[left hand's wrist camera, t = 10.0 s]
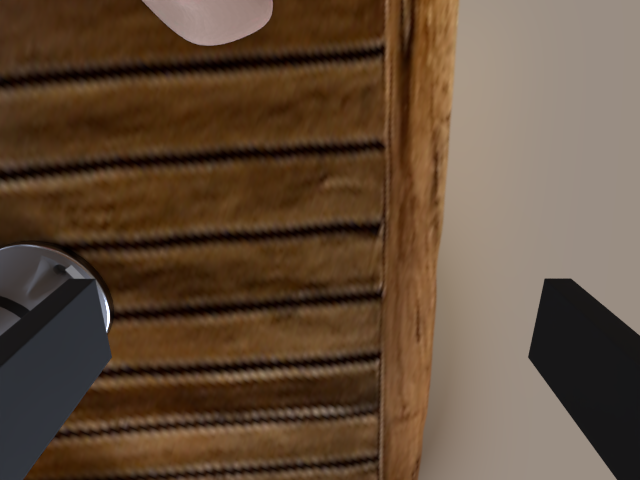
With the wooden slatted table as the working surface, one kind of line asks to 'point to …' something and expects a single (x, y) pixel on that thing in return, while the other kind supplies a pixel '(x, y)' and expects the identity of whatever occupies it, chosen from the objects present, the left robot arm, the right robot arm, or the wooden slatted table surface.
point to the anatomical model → (212, 18)
